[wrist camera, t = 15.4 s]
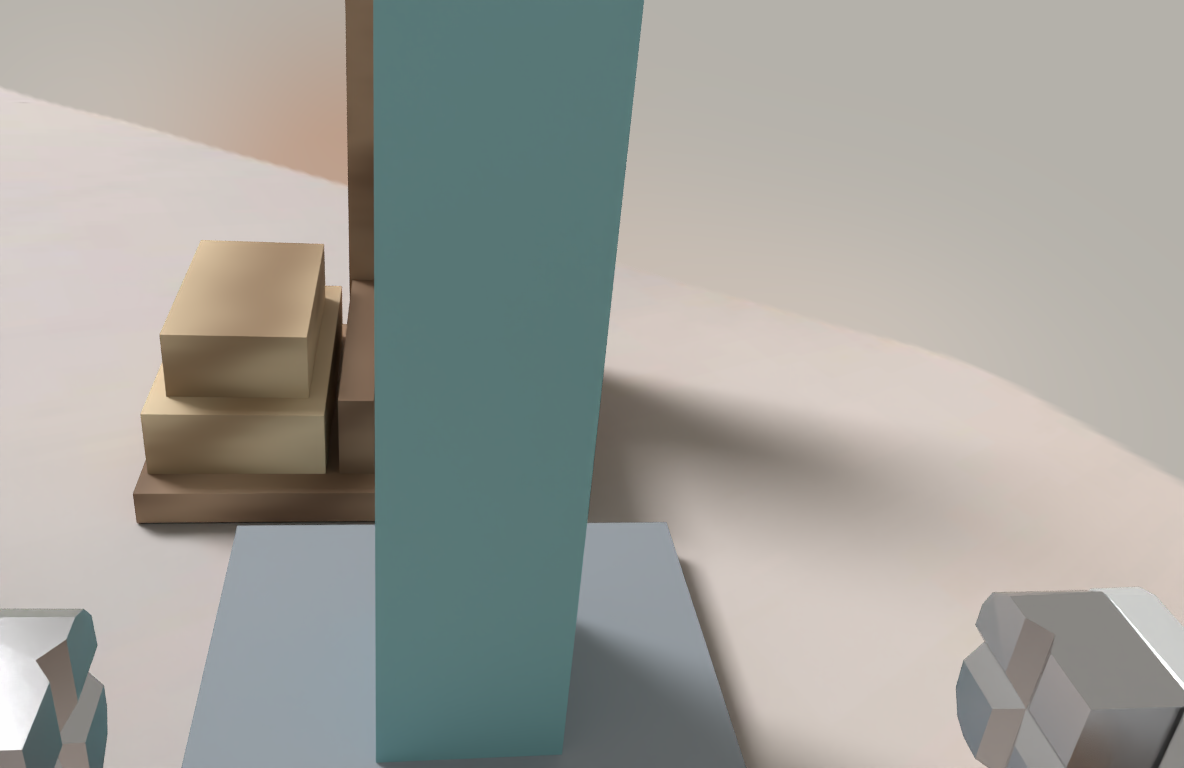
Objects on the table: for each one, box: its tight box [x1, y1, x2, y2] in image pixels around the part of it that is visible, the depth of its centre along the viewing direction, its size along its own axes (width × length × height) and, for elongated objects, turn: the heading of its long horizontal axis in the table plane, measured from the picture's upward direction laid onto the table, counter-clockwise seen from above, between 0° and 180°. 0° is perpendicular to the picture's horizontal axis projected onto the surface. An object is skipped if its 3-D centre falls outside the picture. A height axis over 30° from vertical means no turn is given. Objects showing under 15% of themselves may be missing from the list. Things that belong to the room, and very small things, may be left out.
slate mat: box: [182, 522, 746, 768], centre depth 26 cm, size 12×12×1 cm
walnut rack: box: [133, 0, 375, 523], centre depth 34 cm, size 12×11×16 cm
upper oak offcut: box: [160, 240, 325, 398], centre depth 35 cm, size 4×7×2 cm, turn 8°
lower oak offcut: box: [141, 286, 343, 474], centre depth 36 cm, size 5×9×2 cm, turn 8°
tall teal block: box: [373, 0, 644, 763], centre depth 22 cm, size 4×5×17 cm
